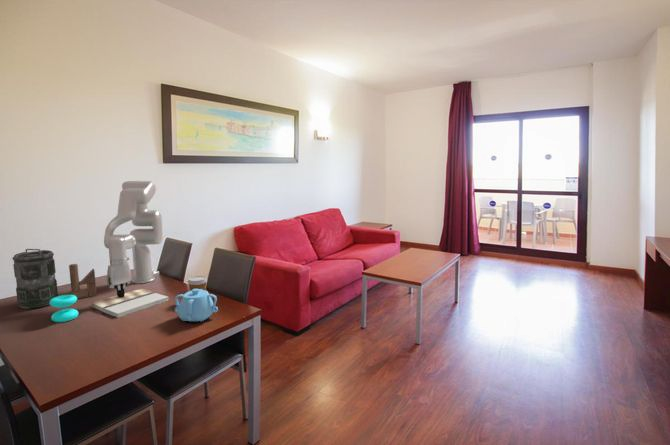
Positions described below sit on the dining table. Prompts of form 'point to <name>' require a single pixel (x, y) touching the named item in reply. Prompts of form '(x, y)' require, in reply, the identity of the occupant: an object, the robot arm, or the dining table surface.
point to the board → (135, 304)
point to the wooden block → (88, 280)
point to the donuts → (65, 313)
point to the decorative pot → (195, 305)
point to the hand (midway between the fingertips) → (121, 296)
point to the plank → (119, 299)
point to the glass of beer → (197, 282)
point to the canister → (35, 278)
